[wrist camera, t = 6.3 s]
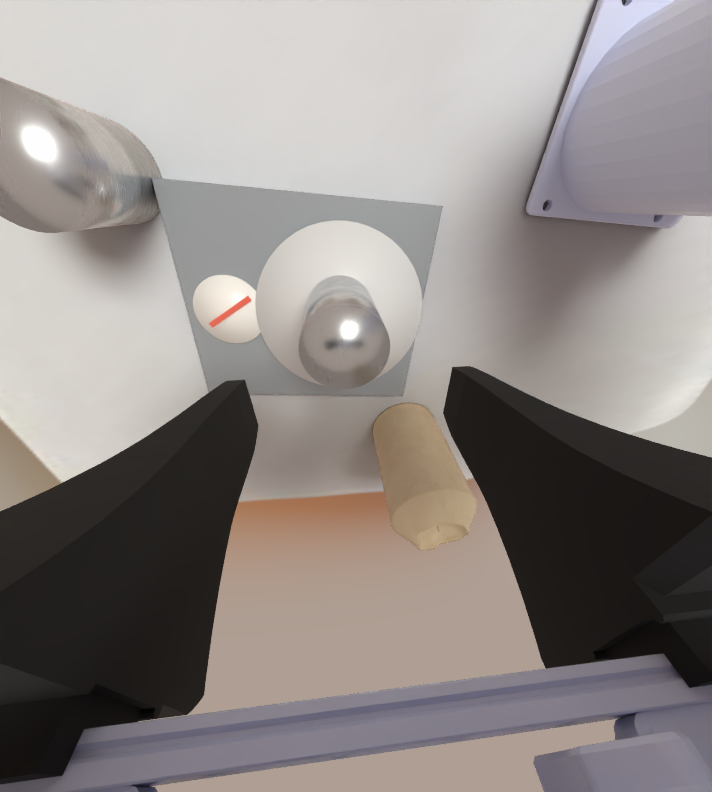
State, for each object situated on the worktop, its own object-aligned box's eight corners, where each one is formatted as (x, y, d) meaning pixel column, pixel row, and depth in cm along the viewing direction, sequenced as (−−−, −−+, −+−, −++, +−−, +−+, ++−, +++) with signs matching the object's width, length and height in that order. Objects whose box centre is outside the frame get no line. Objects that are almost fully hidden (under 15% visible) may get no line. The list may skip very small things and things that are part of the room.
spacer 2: (368, 268, 15) (385, 295, 11) (377, 335, 18) (394, 380, 13) (298, 282, 16) (286, 315, 11) (316, 347, 18) (312, 396, 13)
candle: (392, 457, 26) (422, 571, 18) (359, 423, 24) (377, 540, 16) (444, 430, 25) (501, 540, 17) (415, 390, 22) (468, 499, 14)
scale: (436, 206, 15) (445, 206, 14) (399, 389, 22) (403, 399, 21) (161, 179, 14) (146, 176, 12) (213, 385, 20) (207, 396, 19)
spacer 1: (148, 123, 12) (47, 77, 8) (174, 226, 15) (107, 237, 10) (48, 111, 12) (-118, 56, 8) (91, 220, 14) (-18, 227, 10)
